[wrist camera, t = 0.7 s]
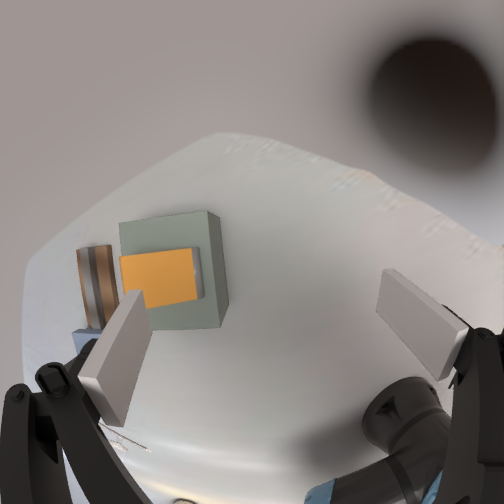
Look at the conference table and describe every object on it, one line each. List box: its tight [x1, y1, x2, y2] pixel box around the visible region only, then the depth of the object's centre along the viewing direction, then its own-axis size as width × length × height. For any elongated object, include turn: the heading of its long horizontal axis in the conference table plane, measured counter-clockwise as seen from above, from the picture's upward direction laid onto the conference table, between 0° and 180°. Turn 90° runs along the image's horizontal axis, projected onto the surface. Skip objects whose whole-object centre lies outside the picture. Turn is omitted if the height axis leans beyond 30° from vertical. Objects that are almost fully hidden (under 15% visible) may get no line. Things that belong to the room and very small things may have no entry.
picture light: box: [98, 423, 152, 452], centre depth 39 cm, size 14×4×2 cm, turn 66°
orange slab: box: [119, 247, 204, 309], centre depth 25 cm, size 5×8×1 cm
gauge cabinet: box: [119, 211, 229, 331], centre depth 32 cm, size 12×11×10 cm
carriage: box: [64, 326, 104, 373], centre depth 31 cm, size 8×7×12 cm
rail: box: [76, 245, 119, 330], centre depth 36 cm, size 20×6×4 cm, turn 6°
